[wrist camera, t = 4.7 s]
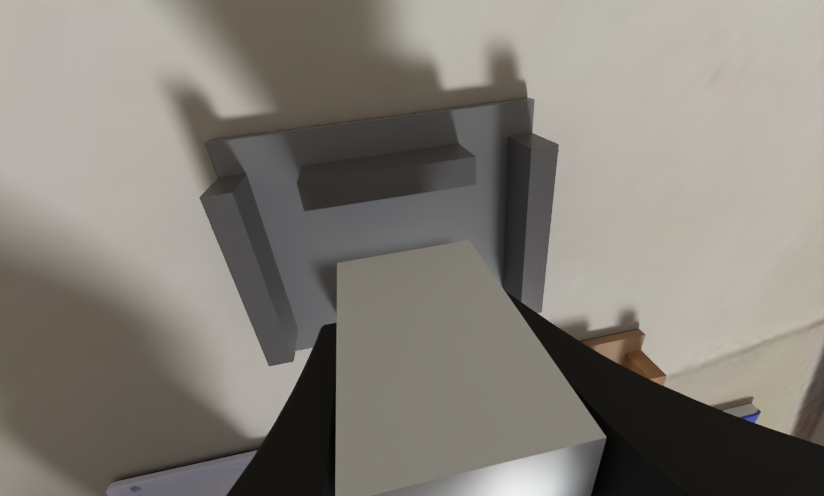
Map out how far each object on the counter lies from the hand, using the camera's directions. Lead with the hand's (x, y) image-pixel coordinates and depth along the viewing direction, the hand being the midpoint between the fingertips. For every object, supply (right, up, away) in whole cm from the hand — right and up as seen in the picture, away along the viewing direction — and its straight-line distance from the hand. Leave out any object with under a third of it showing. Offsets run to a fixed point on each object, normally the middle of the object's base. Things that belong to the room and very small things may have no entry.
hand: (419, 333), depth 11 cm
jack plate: (-1, +3, +5) cm, 6 cm away
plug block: (0, +1, +1) cm, 1 cm away
